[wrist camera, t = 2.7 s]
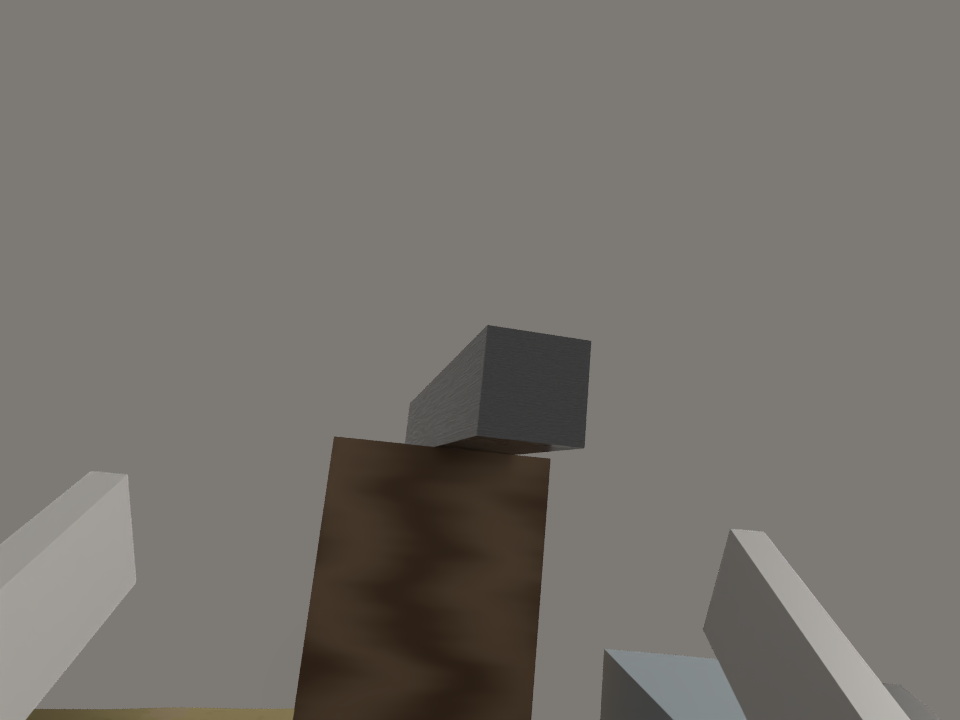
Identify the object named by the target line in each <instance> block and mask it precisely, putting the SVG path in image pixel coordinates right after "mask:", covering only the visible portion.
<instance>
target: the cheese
mask: <svg viewBox="0 0 960 720" xmlns="http://www.w3.org/2000/svg"><path fill="white" fill-rule="evenodd" d="M293 715H294V709H227V708H143V709H105V710H104V709H102V710H101V709H100V710H98V709H95V710H94V709H92V710H91V709H85V710H84V709H82V710H81V709H34V710H33V711H32V712H31V714H30V715H29V716H28V717H27V719H26V720H293Z"/></svg>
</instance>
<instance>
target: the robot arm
mask: <svg viewBox="0 0 960 720" xmlns="http://www.w3.org/2000/svg"><path fill="white" fill-rule="evenodd" d="M135 583H136V572H135V560H134V547H133V535H132V522H131V510H130V499H129V485H128V475H127V474H117V473H106V472H95V471H91V472H90V473H88V474H87V475H86V476H84V477H83V478H82V479H81V480H80V481H78V482H77V483H76V484H74V485H73V486H72V487H71V488H69V489H68V490H67V491H66V492H64V493H63V494H62V495H61V496H59V497H58V498H57V499H56V500H55V501H53V502H52V503H51V504H50V505H49V506H47V507H46V508H45V509H43V510H42V511H41V512H40V513H38V514H37V515H36V516H35V517H33V518H32V519H31V520H30V521H29V522H27V523H26V524H25V525H24V526H22V527H21V528H20V529H19V530H17V531H16V532H15V533H14V534H12V535H11V536H10V537H9V538H7V539H6V540H5V541H4V542H2V543H1V544H0V720H26V719H27V717H28V716H29V715H30V714H31V712H32V711H33V710H34V709H35V707H36V706H37V705H38V704H39V702H40V701H41V700H42V699H43V698H44V696H45V695H46V694H47V692H48V691H49V690H50V689H51V688H52V686H53V685H54V684H55V683H56V681H57V680H58V679H59V678H60V676H61V675H62V674H63V673H64V671H65V670H66V669H67V668H68V666H69V665H70V664H71V663H72V662H73V660H74V659H75V658H76V657H77V655H78V654H79V653H80V651H81V650H82V649H83V648H84V647H85V645H86V644H87V643H88V642H89V640H90V639H91V638H92V636H93V635H94V634H95V633H96V632H97V630H98V629H99V628H100V627H101V626H102V624H103V623H104V622H105V620H106V619H107V618H108V617H109V616H110V614H111V613H112V612H113V611H114V609H115V608H116V607H117V605H118V604H119V603H120V602H121V601H122V599H123V598H124V597H125V596H126V594H127V593H128V592H129V591H130V590H131V588H132V587H133V586H134V584H135ZM703 630H704V632H705V634H706V636H707V639H708V641H709V643H710V645H711V647H712V649H713V651H714V653H715V655H716V657H717V659H718V661H719V663H720V665H721V667H722V670H723V672H724V674H725V676H726V678H727V680H728V682H729V684H730V686H731V688H732V690H733V692H734V694H735V696H736V698H737V700H738V702H739V705H740V707H741V709H742V711H743V713H744V715H745V717H746V719H747V720H940V719H939V718H938V717H937V715H936V714H935V713H934V712H933V711H932V710H931V709H930V708H929V707H927V706H926V705H925V704H923V703H922V702H921V701H920V700H919V699H917V698H916V697H915V696H914V695H912V694H911V693H910V692H909V691H907V690H906V689H905V688H904V687H903V686H901V685H898V684H886V683H881V681H880V680H879V679H878V678H877V676H876V675H875V674H874V672H873V671H872V670H871V669H870V667H869V666H868V665H867V663H866V662H865V661H864V660H863V658H862V657H861V656H860V655H859V653H858V652H857V651H856V649H855V648H854V647H853V646H852V644H851V643H850V642H849V640H848V639H847V638H846V636H845V635H844V634H843V633H842V632H841V630H840V629H839V627H838V626H837V625H836V624H835V622H834V621H833V620H832V618H831V617H830V616H829V615H828V613H827V612H826V611H825V609H824V608H823V607H822V606H821V604H820V603H819V602H818V601H817V599H816V598H815V597H814V595H813V594H812V593H811V591H810V590H809V589H808V588H807V586H806V585H805V584H804V582H803V581H802V580H801V579H800V577H799V576H798V575H797V573H796V572H795V571H794V570H793V568H792V567H791V566H790V565H789V563H788V562H787V561H786V559H785V558H784V557H783V555H782V554H781V553H780V552H779V550H778V549H777V548H776V547H775V545H774V544H773V543H772V541H771V540H770V539H769V538H768V536H767V535H766V534H765V532H760V531H750V530H739V529H730V532H729V535H728V539H727V543H726V547H725V550H724V554H723V558H722V561H721V565H720V569H719V572H718V576H717V580H716V583H715V587H714V591H713V595H712V598H711V602H710V605H709V609H708V613H707V617H706V621H705V624H704V628H703Z"/></svg>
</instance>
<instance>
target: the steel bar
mask: <svg viewBox="0 0 960 720" xmlns="http://www.w3.org/2000/svg"><path fill="white" fill-rule="evenodd" d="M590 350H591V341H588V340H581V339H575V338H568V337H562V336H555V335H548V334H541V333H535V332H529V331H522V330H516V329H509V328H503V327H496V326H490V325H488V326H486V327H485V328H484V329H483V330H482V331H481V332H480V333H479V335H477V337H476V338H475V339H474V340H473V341H472V342H470V343H469V344H468V345H467V346H466V347H465V348H464V350H463V351H462V352H461V353H460V354H459V355H458V356H457V357H456V358H455V359H454V360H453V361H452V362H451V363H450V364H449V365H448V366H447V367H446V368H445V369H444V370H443V371H442V372H441V373H440V374H439V375H438V376H437V377H436V378H435V379H434V380H433V381H432V382H431V383H430V384H429V385H428V386H427V387H426V388H425V389H424V390H423V391H422V392H421V393H420V394H419V395H418V396H417V397H416V398H415V399H414V400H413V401H412V402H411V403H410V408H409V416H408V425H407V432H406V441H405V444H411V445H421V446H431V447H441V448H450V449H460V450H470V451H479V452H489V453H499V454H509V455H516V454H528V453H538V452H549V451H559V450H570V449H581V448H584V446H585V430H586V413H587V398H588V382H589V366H590Z"/></svg>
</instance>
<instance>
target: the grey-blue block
mask: <svg viewBox="0 0 960 720" xmlns="http://www.w3.org/2000/svg"><path fill="white" fill-rule="evenodd" d="M600 720H747V719H746V717H745V715H744V713H743V711H742V709H741V707H740V705H739V702H738V700H737V698H736V696H735V694H734V692H733V690H732V688H731V686H730V684H729V682H728V680H727V678H726V676H725V674H724V672H723V670H722V667H721V665H720V663H719V661H718V659H711V658H700V657H690V656H678V655H666V654H655V653H645V652H634V651H621V650H611V649H604V662H603V681H602V700H601V719H600Z"/></svg>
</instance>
